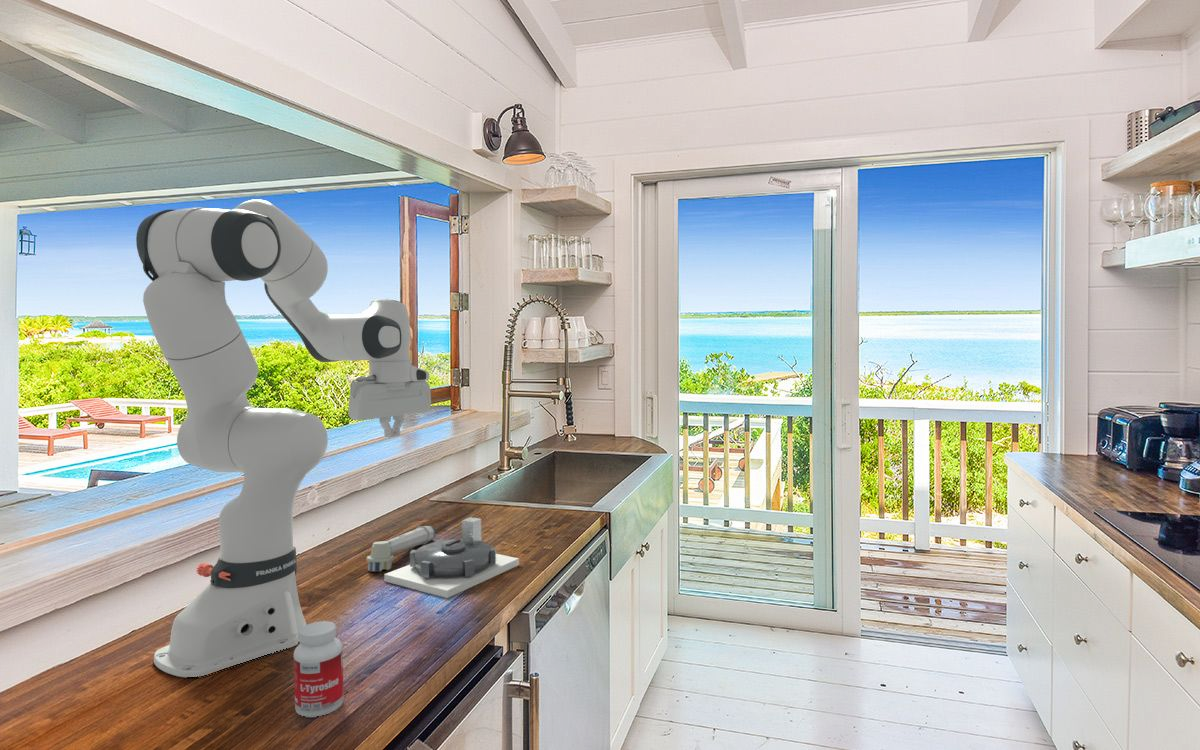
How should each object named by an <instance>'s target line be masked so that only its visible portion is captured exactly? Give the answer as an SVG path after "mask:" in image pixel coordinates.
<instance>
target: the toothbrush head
mask: <svg viewBox="0 0 1200 750" xmlns="http://www.w3.org/2000/svg"><path fill="white" fill-rule="evenodd" d="M435 537H436V529H434V527H433V526H431V525H424V526H422V525H421V526H417V527H416V528H415V529H413V530H410V531H408V532H405V533H403V534H401V535H398V536H396V537H393V538H390V539H388V540H386V541H385V540H384V541H380V540H379V541H375V542H374V541H373V543H372V545H371V549H370V555H367V556H366V562H367V570H368V571H369V572H382V570H385V571H389V570H391V569H392V563H393V560H394V559H395V558H394V557H395V553H398V552H401V551H405V550H407V549H410V548H413V547H417V546H420V545H427V544H428V543H429V542H431V541H432V540H433V539H434V538H435Z"/></svg>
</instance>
